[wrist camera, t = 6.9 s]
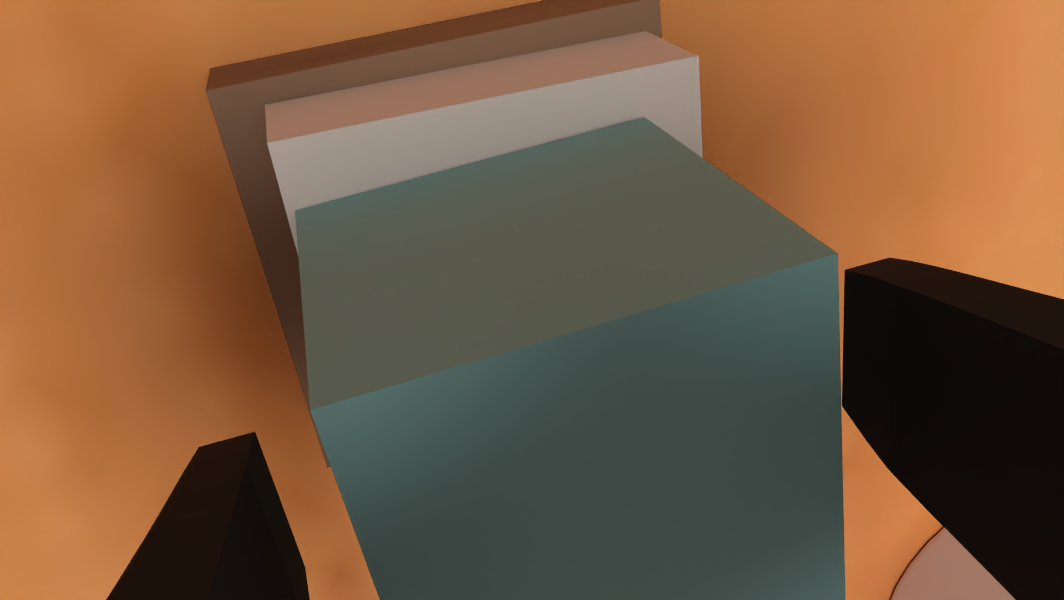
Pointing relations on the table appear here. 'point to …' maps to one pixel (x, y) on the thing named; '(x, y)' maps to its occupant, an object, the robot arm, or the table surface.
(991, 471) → the robot arm
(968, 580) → the pill bottle
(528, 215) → the cube
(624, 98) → the top tile
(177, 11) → the table surface
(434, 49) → the bottom tile
